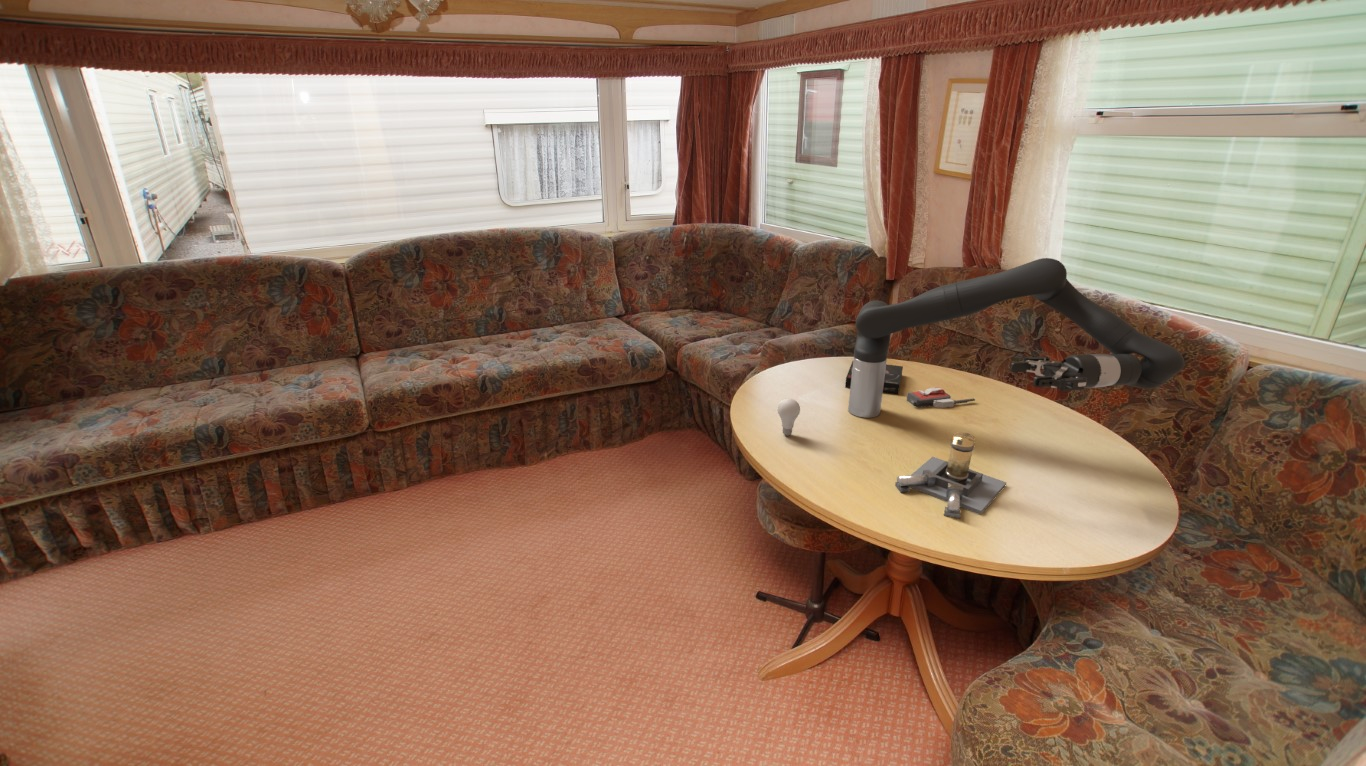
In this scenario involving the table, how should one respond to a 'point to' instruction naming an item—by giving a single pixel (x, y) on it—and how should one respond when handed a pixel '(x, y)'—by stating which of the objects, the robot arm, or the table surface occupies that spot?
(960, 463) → the gold cylindrical piece
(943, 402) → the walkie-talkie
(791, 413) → the lightbulb
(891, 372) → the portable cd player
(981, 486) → the stand
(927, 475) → the shaft
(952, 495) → the shaft
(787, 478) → the table surface
